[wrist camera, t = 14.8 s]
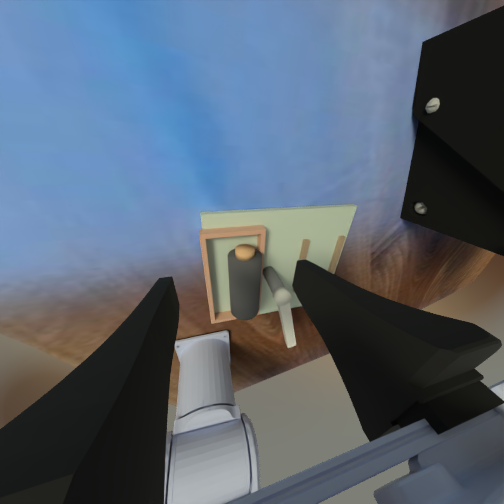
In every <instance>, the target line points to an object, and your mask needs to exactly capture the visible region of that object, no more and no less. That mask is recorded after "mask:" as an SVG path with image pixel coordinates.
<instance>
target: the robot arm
mask: <svg viewBox="0 0 504 504" xmlns="http://www.w3.org/2000/svg"><path fill="white" fill-rule="evenodd" d="M292 287H293V289H294V291H295V294H296V296H297V298H298V300H299V301H300V303H301V305H302V306H303V308H304V309H305V311H306V313H307V314H308V316H309V317H310V319H311V320H312V322H313V324H314V325H315V327H316V328H317V330H318V331H319V333H320V335H321V337H322V338H323V340H324V342H325V344H326V346H327V348H328V350H329V352H330V354H331V356H332V358H333V360H334V362H335V364H336V367H337V369H338V371H339V373H340V375H341V377H342V379H343V382H344V384H345V387H346V389H347V391H348V393H349V396H350V398H351V401H352V403H353V406H354V408H355V411H356V413H357V415H358V418H359V421H360V423H361V426H362V429H363V431H364V433H365V434H366V436H367V438H368V439H369V441H370V442H369V443H366V444H364V445H362V446H360V447H357V448H355V449H353V450H350V451H348V452H346V453H343V454H341V455H339V456H336V457H334V458H332V459H329V460H327V461H325V462H322V463H320V464H318V465H316V466H313V467H311V468H309V469H306V470H304V471H302V472H299V473H297V474H295V475H293V476H290V477H288V478H286V479H283V480H281V481H279V482H276V483H274V484H272V485H269V486H267V487H265V488H262V489H261V488H260V461H259V452H258V445H257V440H256V435H255V431H254V428H253V425H252V422H251V421H250V419H249V418H248V417H247V415H245V413H242V414H240V408H239V405H235V398H234V391H233V384H232V377H231V370H230V363H231V361H230V345H229V332H228V331H227V330H225V331H220V332H216V333H211V334H206V335H201V336H196V337H191V338H187V339H182V340H177V341H176V335H177V329H178V323H179V301H178V297H177V293H176V289H175V286H174V282H173V278H172V277H165V278H159V279H158V280H157V282H156V283H155V284H154V286H153V287H152V288H151V290H150V291H149V292H148V293H147V295H146V296H145V297H144V298H143V300H142V301H141V302H140V303H139V305H138V306H137V307H136V308H135V309H134V311H133V312H132V313H131V314H130V315H129V316H128V317H127V319H126V320H125V321H124V322H123V323H122V324H121V325H120V326H119V327H118V329H117V330H116V331H115V332H114V333H113V334H112V335H111V336H110V337H109V338H108V339H107V340H106V341H105V342H104V343H103V344H102V345H101V346H100V347H99V348H98V349H97V350H96V351H95V352H93V353H92V354H91V355H90V356H89V357H88V358H87V359H86V360H85V361H83V362H82V363H81V364H80V365H79V366H78V367H77V368H75V369H74V370H73V371H72V372H71V373H70V374H69V375H68V376H66V377H65V378H64V379H63V380H62V381H61V382H60V383H58V384H57V385H56V386H55V387H53V388H52V389H51V390H50V391H48V393H46V394H45V395H43V396H42V397H41V398H40V399H39V400H37V401H36V402H35V403H34V404H32V405H31V406H30V407H28V408H27V409H26V410H25V411H23V412H22V413H21V414H20V415H18V416H17V417H16V418H14V419H13V420H12V421H10V422H9V423H8V424H7V425H5V426H4V427H3V428H1V429H0V504H318V503H320V502H322V501H324V500H326V499H328V498H330V497H332V496H334V495H336V494H338V493H340V492H342V491H344V490H346V489H349V488H350V487H353V486H355V485H357V484H359V483H361V482H363V481H365V480H367V479H369V478H371V477H373V476H375V475H377V474H379V473H381V472H383V471H385V470H387V469H389V468H391V467H393V466H395V465H398V464H400V463H402V462H404V461H406V460H408V459H409V461H408V464H409V468H410V472H409V474H407V475H405V476H402V477H400V478H398V479H396V480H394V481H391V482H390V483H387V484H386V485H384V486H382V487H380V488H379V489H377V490H375V491H374V497H375V499H376V501H377V503H378V504H504V380H503V381H501V382H499V383H496V384H494V385H492V386H490V387H487V386H486V385H484V384H483V383H482V382H481V381H480V380H482V379H483V378H484V377H483V375H481V374H480V373H479V372H478V371H477V370H475V369H474V368H476V367H477V366H478V365H480V364H481V363H482V362H484V361H485V360H486V359H487V358H489V357H490V356H491V355H493V354H494V353H495V352H496V351H497V350H498V349H499V348H500V347H501V346H502V344H501V341H500V340H499V339H498V338H496V337H495V336H493V335H491V334H490V333H488V332H487V331H485V330H484V329H482V328H480V327H479V326H477V325H475V324H473V323H469V322H465V321H461V320H457V319H453V318H449V317H444V316H441V315H436V314H433V313H430V312H426V311H423V310H419V309H416V308H413V307H410V306H407V305H404V304H401V303H398V302H395V301H392V300H389V299H387V298H384V297H381V296H379V295H376V294H374V293H372V292H369V291H367V290H365V289H362V288H360V287H358V286H356V285H354V284H352V283H350V282H348V281H346V280H344V279H342V278H340V277H338V276H336V275H334V274H333V273H331V272H329V271H327V270H325V269H323V268H322V267H320V266H318V265H316V264H314V263H312V262H310V261H308V260H306V259H305V260H297V263H296V268H295V273H294V278H293V283H292ZM174 347H175V349H176V352H177V355H178V358H179V361H180V373H179V386H178V398H177V411H176V420H175V421H174V431H173V435H172V431H170V432H167V414H168V398H169V384H170V373H171V365H172V359H173V353H174Z"/></svg>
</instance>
